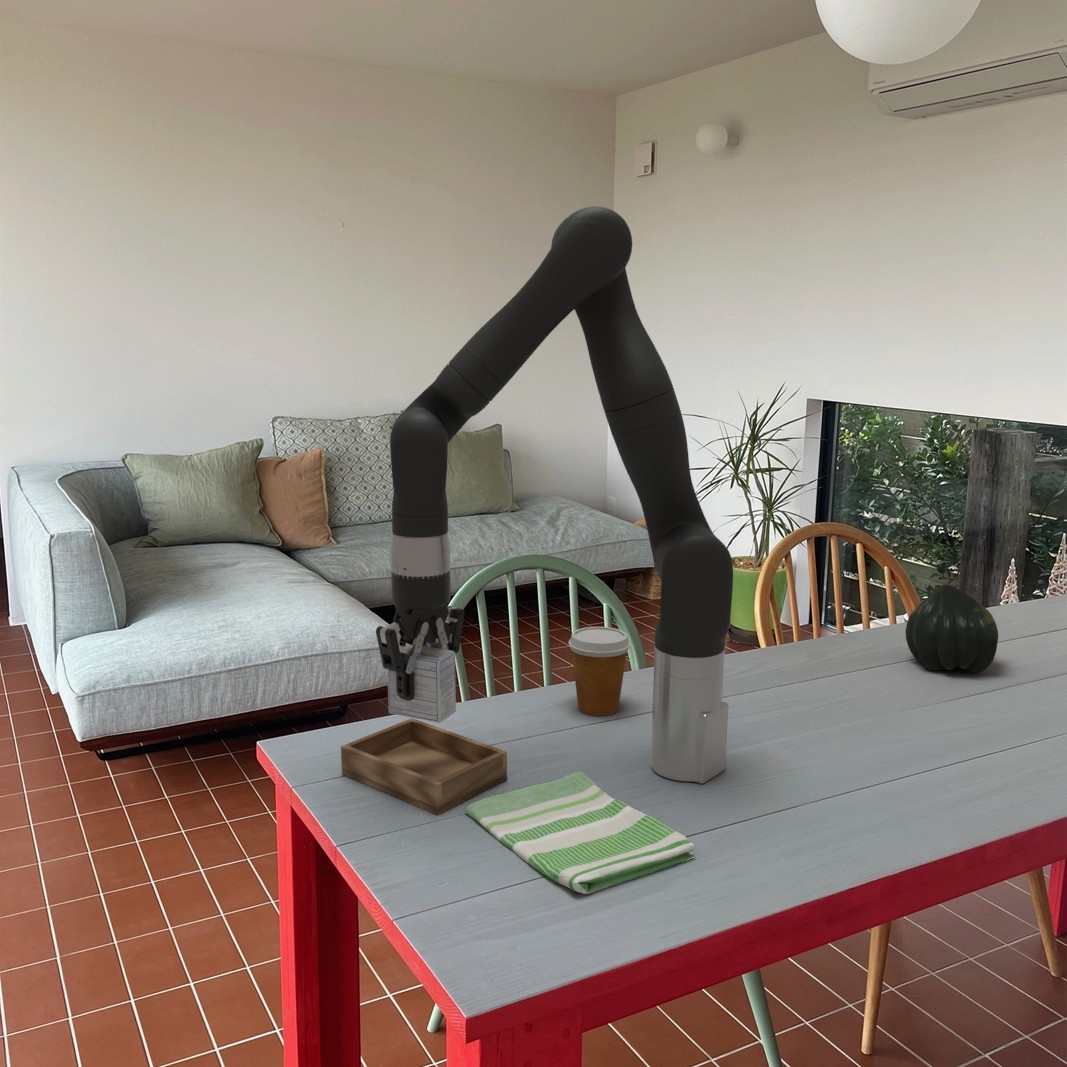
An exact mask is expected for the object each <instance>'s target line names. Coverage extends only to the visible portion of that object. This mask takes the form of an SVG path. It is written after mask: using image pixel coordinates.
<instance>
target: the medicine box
mask: <svg viewBox="0 0 1067 1067" xmlns="http://www.w3.org/2000/svg"><path fill="white" fill-rule="evenodd" d="M412 646H413V645H409V644H407V643H406V647H408V648H412ZM406 659H407V654H406V655H405V657H404V663H406ZM412 672H413V673H414V699H413V700H410V701H407V700H404V699H401V698H400V697H399V695H398V694H397V690H396V688H397V687H396V685H397V684H396V672H394V671H391V670H388V669H387V692H388V693H387V696H388V698H387V699H388V702H387V703H388V714H390V715H391V714H392V715H396V716H397V715H398V716H402V717H406V718H407V717H408V718H413V719H416V720H421V721H422V720H423V721H428V722H433V723H438V724H439V723H440V724H441V723H442V722H444V721H445V720H446V719H448V718H449V717H450V716H452V715H453V714H454V713H456V712H457V700H456V695H457V694H456V653H455V652H454V651H451V650H445V649H439V648H433V647H428V645H423V646H422V649H421V652H420V655H419V656H418V657H416V660H415V664H414V668H413V671H412Z"/></svg>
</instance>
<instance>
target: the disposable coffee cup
mask: <svg viewBox="0 0 1067 1067" xmlns="http://www.w3.org/2000/svg"><path fill="white" fill-rule="evenodd" d="M568 646H569V647H570V650H571V655H572V663H573V666H572V667H573V672H574V682H575V691H576V700H577V709H578V710H579V712H582V713H583V714H586V715H589V714H590V716H608V715H613V714H615V713H617V712H618V711H619V707H620V700H621V693H622V687H623V686H622V685H623V680H624V672H625V667H626V660H627V654H628V652H629V648H630V646H631V642H630V640H629V637H628V634H627V633H626V632H625V631H623V630H621V629H618V628H616V627H615V628H614V627H607V626H587V627H582V628H579V629H576V630H574V631H573V632H572V633H571V636H570V639H569V640H568Z"/></svg>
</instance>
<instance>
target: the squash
mask: <svg viewBox="0 0 1067 1067" xmlns="http://www.w3.org/2000/svg"><path fill="white" fill-rule="evenodd" d="M905 640H906V643H907V646H908V649H909V651H910V653H911V654H912V656H913V657H914V658H915V660H916V661H917V662H919V663H920V664H922V665H924V666H925V667H926V668H928V669H930V670H933V671H941V670H942V671H943V670H944V669H946V670H950V671H951V670H954V669H955V668H956V667H957V668H959V669H962V670H963V671H964V672H967V673H972V674H973V673H980V672H983V671H985V670H986V669H988V668H989V667H990V665H991V664H992V663H993V661H994V660H995V657H996V653H997V649H998V642H999V630H998V626H997V623H996V621H995V619H994V616H993V615H992V613H991V612H990V610H988V609H987V608H986V607H985V606H984V605H982V604H981V602H979V601H977V600H976V599H975V598H974V597H972V596H970V595H969V594H967V593H965V592H964V591H962V590H961V589H959V588H957V587H955V586H953V585H950V584H949V583H945V584H944V585H941V586H940V587H938V588H936V589H935V591H933V592H932V593H931V594H930V595H929V596H927V597H926V598H925V599H924V600H923V601H922V602H920V603H919V604H918V605H917V606H916V607H915V608H914V609H913V611H911V613H910V615H909V617H908V619H907V622H906V626H905Z"/></svg>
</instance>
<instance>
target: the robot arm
mask: <svg viewBox="0 0 1067 1067" xmlns="http://www.w3.org/2000/svg"><path fill="white" fill-rule="evenodd" d="M632 252H633V236H632V233H631V229H630V227H629V225H628V223H627V222H626V220H625V219H624V218H623V216H621V215H620V214H619V213H617V212H616V211H614V210H613V209H610V208H607V207H604V206H588V207H583V208H581V209H578V210H576V211H574V212H572V213H571V214H570V215H568V216H567V217H566V218H564V219H563V221H562V222H560V224H559V225H558V226H557V228H556V229H555V231H554V234H553V237H552V240H551V246H550V249H549V251H548V252H547V253H546V256H545V257H544V259H543V260H542V262H541V263H540V265H539V266H538V267H537V269H536V270H535V271H534V272H533V274H532V275H531V277H529V279H528V280H527V281H526V283H524V285H523V286H522V287H521V288H520V289H519V290H518V291H517V293H516V294H515V295H514V296H513V297H512V298H511V299H510V300H509V301H508V302H507V303H506V304H505V305H504V306H503V307H501V308H500V310H498V311H497V312H496V313H495V314H494V315H493V316H491V318H489V320H488V321H486V323H484V325H483V326H481V327H480V328H479V329H478V331H476V332H475V333H474V334H473V335H472V336H471V337H470V338H469V339H468V341H466V343H465V344H464V345H463V346H462V347H461V348H460V350H458V352H457V353H456V354H455V355H454V356H453V357H452V358H451V359H450V360H449V362H448V363H446V365H445V366H444V368H443V369H442V370H440V373H439V374H438V375H437V376H436V378H435V380H434V381H433V382H432V383H430V385H428V386H427V387H426V389H425V390H423V391H422V393H420V394H419V395H418V396H416V398H415V399H414V400H413V401H412V402H411V403H410V404H409V405H408V406H407V407H406V408H405V409H404V410H403V411H402V412H401V413H400V414H399V415H398V416H397V418H396V419H395V421H394V422H393V425H392V427H391V431H390V436H389V448H390V449H389V451H390V465H391V466H390V467H391V476H392V478H391V480H392V487H393V494H392V503H391V522H392V523H391V528H392V530H391V532H392V537H391V545H390V546H391V547H390V569H391V570H390V573H391V575H390V576H391V580H390V581H391V585H390V586H391V601H392V603H393V605H394V607H395V615H394V617H393V620H392V621H393V622H392V623H390V624H389V625H386V626H381V625H379V626H377V627H376V629H375V634H376V640H377V644H378V649H379V655H380V658H381V663H382V667H383V669H385V670H387V671H388V670H391V671H394V672H396V684H397V685H396V687H397V688H396V690H397V694H398V695H399V697H400V698H401V699H404V700H407V701H410V700H413V699H414V673H413V672H412V671H413V668H414V664H415V660H416V657H418V656H419V655H420V652H421V649H422V646H427V647H433V648H439V649H445V650H451V651H454V652H455V654H457V653H459V651H460V646H461V641H462V634H463V626H464V618H465V613H466V612H465V610H464V608H460V607H456V606H451V605H448V604H449V603H450V601H451V598H452V597H451V587H452V586H451V547H450V546H451V545H450V538H449V532H448V531H449V509H448V508H449V506H448V505H449V504H448V498H447V497H448V496H447V492H446V490H447V489H446V488H447V474H448V473H447V472H448V456H449V455H448V453H449V452H448V450H449V449H448V448H449V447H448V446H449V443H450V441H451V440H452V439H453V438H454V437H455V436H456V435H457V433H458V432H459V431H460V430H461V429H462V428H463V427H464V426H465V424H467V422H469V420H470V419H471V418H472V417H474V416H476V415H478V414H479V413H480V412H482V411H483V410H484V409H485V408H486V407H487V406H488V405H489V404H490V402H492V400H494V398H495V397H496V396H497V395H498V394H499V393H500V392H501V391H502V390H503V389H504V388H505V386H507V384H508V383H509V382H510V380H512V378H513V377H514V376H515V375H516V374H517V373H518V371H519V370H520V369H521V368H522V367H523V366H524V364H525V363H526V362H527V361H528V360H529V359H530V357H531V356H532V355H533V354H534V352H535V351H536V350H537V349H538V348H539V346H540V345H541V344H542V343H543V342H544V341H545V340H546V339H547V337H548V336H549V335H551V333H552V332H553V331H554V330H555V329H556V328H557V327H558V325H560V323H562V322H563V321H564V319H566V318H567V317H568V316H569V314H571V313H572V312H573V311H574V312H575V314H576V316H577V318H578V322H579V324H580V326H581V329H582V331H583V332H582V333H583V335H584V340H585V343H586V346H587V352H588V355H589V360H590V365H591V368H592V372H593V377H594V381H595V384H596V388H597V391H598V394H599V399H600V402H601V405H602V408H603V411H604V414H605V418H606V421H607V424H608V426H609V430H610V432H611V435H612V436H611V437H612V438H613V441H614V443H615V445H616V448H617V451H618V453H619V456H620V459H621V462H622V463H623V466H624V468H625V471H626V473H627V475H628V477H629V480H630V481H631V483H632V485H633V488H634V490H635V492H636V494H637V497H638V499H639V503H640V505H641V506H640V507H641V509H642V513H643V517H644V522H645V525H646V530H647V533H648V534H647V535H648V539H649V540H648V541H649V544H650V549H651V555H652V559H653V564H654V565H653V566H654V568H655V572H656V574H657V576H658V577H659V579H660V580H661V581H660V583H661V584H660V601H659V602H660V608H659V618H658V623H657V624H656V626H655V629H654V654H653V656H654V658H653V660H654V661H653V684H652V685H653V688H652V690H653V691H652V715H651V716H652V722H651V723H652V724H651V749H650V750H651V751H650V752H651V753H650V754H651V756H650V757H651V760H650V761H651V762H650V765H651V769H652V770H653V771H654V773H656V774H658V775H660V776H661V777H662V778H663V777H664V778H667V779H668V780H673V781H679V782H680V781H681V782H694V783H695V782H696V783H699V784H705V783H707V782H708V781H709V780H711V779H712V778H714V777H716V776H717V775H719V774H720V773H722V772H724V771H725V770H726V767H727V766H726V764H727V743H728V727H729V726H728V723H729V722H728V720H729V719H728V718H729V704H728V702H725V701H723V697H724V696H723V693H724V670H725V652H726V651H725V648H726V637H727V635H728V632H729V630H730V623H731V616H732V615H731V614H732V601H733V600H732V599H733V588H734V586H733V585H734V565H733V563H734V562H733V559H732V556H731V553H730V551H729V549H728V548H727V546H726V545H725V544H724V542H722V541H721V540H720V539H719V538H718V537H717V536H716V535H715V534H714V532H713V531H712V528H711V527H710V525H709V523H708V521H707V518H706V516H705V514H704V511H703V509H702V506H701V504H700V502H699V499H698V497H697V496H698V495H697V493H696V491H695V487H694V484H693V480H692V476H691V468H690V458H689V457H690V456H689V447H688V440H687V439H688V438H687V433H686V432H687V431H686V428H685V423H684V418H683V415H682V414H683V413H682V410H681V408H680V405H679V401H678V399H677V398H678V397H677V394H676V392H675V388H674V386H673V382H672V380H671V377H670V374H669V373H668V370H667V367H666V365H665V364H664V361H663V359H662V358H661V355H660V353H659V352H658V350H657V348H656V346H655V344H654V342H653V340H652V339H651V337H650V335H649V334H648V332H647V330H646V328H645V327H644V325H643V323H642V320H641V317H640V315H639V313H638V311H637V308H636V306H635V302H634V298H633V294H632V291H631V290H632V289H631V287H630V283H629V278H628V273H627V270H626V267H627V265H628V263H629V262H630V259H631V255H632ZM451 636H452V638H451ZM450 641H451V642H450ZM406 643H407V644H409V645H413V646H412V648H408V647H406ZM406 654H407V659H406V663H404V657H405V655H406Z"/></svg>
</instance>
